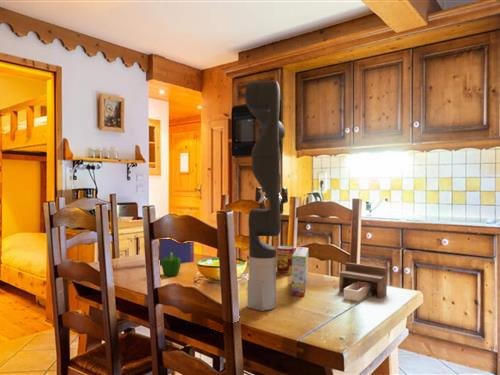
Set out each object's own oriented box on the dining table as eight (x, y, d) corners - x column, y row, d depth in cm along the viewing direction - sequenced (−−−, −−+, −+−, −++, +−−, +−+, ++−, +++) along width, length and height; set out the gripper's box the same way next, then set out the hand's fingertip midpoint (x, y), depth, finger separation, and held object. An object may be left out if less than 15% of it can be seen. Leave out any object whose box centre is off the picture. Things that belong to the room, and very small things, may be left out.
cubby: (380, 298, 140) (381, 271, 140) (339, 290, 149) (339, 265, 149) (386, 293, 146) (386, 267, 146) (346, 286, 155) (346, 262, 155)
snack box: (305, 296, 142) (306, 256, 141) (290, 296, 143) (290, 255, 143) (308, 282, 162) (308, 246, 162) (295, 281, 164) (295, 246, 163)
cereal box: (190, 260, 206) (190, 215, 206) (193, 261, 202) (193, 216, 202) (158, 263, 197) (158, 217, 197) (161, 265, 193) (161, 217, 193)
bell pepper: (176, 278, 168) (176, 255, 168) (159, 277, 170) (159, 254, 169) (183, 273, 176) (183, 251, 176) (166, 272, 178) (166, 251, 178)
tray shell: (358, 302, 136) (358, 291, 136) (343, 299, 139) (343, 288, 139) (371, 293, 147) (371, 282, 147) (357, 290, 151) (357, 280, 151)
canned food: (273, 272, 178) (273, 247, 178) (283, 270, 184) (283, 245, 184) (287, 275, 173) (287, 249, 173) (297, 272, 179) (297, 247, 179)
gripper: (291, 173, 153) (291, 213, 153) (262, 173, 162) (261, 211, 162) (281, 172, 147) (281, 214, 147) (251, 173, 156) (251, 212, 156)
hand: (271, 213), depth 155 cm, fingers open, 8 cm apart
